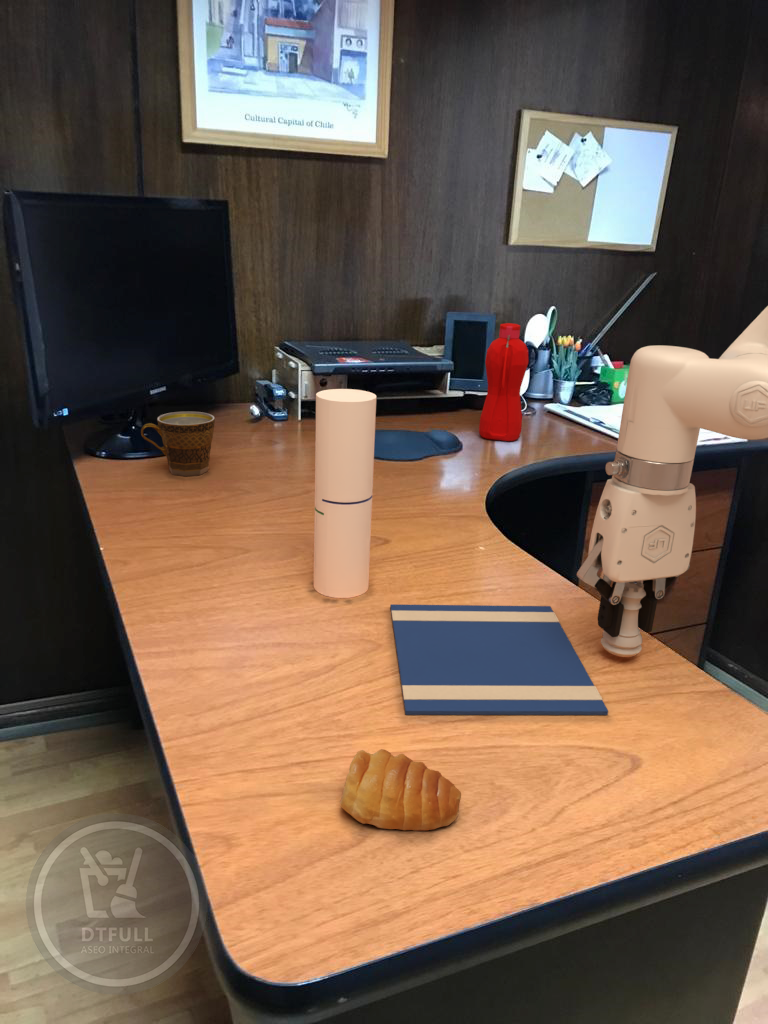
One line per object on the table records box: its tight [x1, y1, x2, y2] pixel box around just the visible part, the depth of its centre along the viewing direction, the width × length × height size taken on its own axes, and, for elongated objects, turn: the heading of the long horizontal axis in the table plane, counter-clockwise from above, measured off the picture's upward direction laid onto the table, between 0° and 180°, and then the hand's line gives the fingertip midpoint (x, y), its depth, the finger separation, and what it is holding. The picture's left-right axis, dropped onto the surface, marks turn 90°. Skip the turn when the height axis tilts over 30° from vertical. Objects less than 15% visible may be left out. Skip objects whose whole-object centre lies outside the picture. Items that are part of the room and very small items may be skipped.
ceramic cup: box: [140, 410, 216, 478], centre depth 139 cm, size 13×10×10 cm
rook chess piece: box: [600, 581, 646, 658], centre depth 85 cm, size 4×4×8 cm
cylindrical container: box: [313, 388, 377, 599], centre depth 96 cm, size 7×7×25 cm
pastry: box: [339, 748, 462, 832], centre depth 62 cm, size 9×7×4 cm
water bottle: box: [478, 322, 529, 442], centre depth 169 cm, size 9×11×25 cm
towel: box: [389, 603, 609, 716], centre depth 85 cm, size 20×22×1 cm
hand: (624, 627), depth 85 cm, fingers closed on rook chess piece, 3 cm apart
